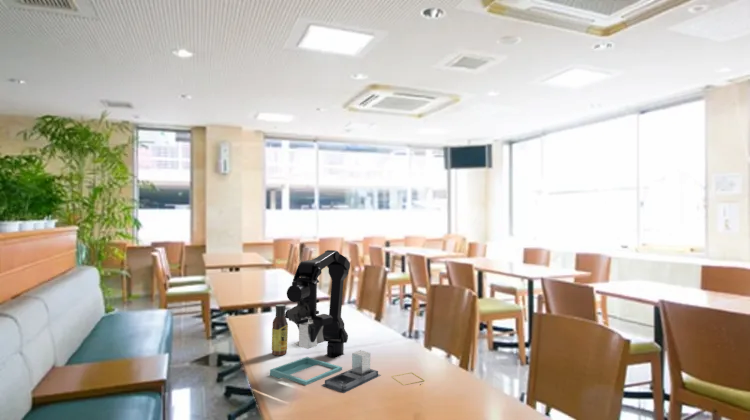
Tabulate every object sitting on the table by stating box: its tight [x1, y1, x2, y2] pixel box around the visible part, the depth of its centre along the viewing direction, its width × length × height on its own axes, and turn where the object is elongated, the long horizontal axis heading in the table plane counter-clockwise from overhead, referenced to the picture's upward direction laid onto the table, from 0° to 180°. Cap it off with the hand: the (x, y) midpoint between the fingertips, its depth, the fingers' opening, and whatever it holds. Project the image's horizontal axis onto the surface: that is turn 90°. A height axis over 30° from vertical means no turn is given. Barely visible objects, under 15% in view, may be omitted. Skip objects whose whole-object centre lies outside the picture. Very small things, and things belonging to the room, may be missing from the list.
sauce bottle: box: [271, 303, 289, 356], centre depth 183 cm, size 7×6×20 cm
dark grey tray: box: [321, 368, 382, 394], centre depth 152 cm, size 20×10×3 cm, turn 143°
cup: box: [308, 319, 325, 344], centre depth 204 cm, size 8×8×10 cm
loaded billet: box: [351, 349, 371, 377], centre depth 156 cm, size 4×4×8 cm
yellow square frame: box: [391, 372, 425, 386], centre depth 154 cm, size 9×9×2 cm
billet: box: [298, 322, 318, 350], centre depth 159 cm, size 4×4×8 cm
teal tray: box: [269, 356, 343, 386], centre depth 160 cm, size 18×18×2 cm
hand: (308, 340), depth 159 cm, fingers closed on billet, 4 cm apart
